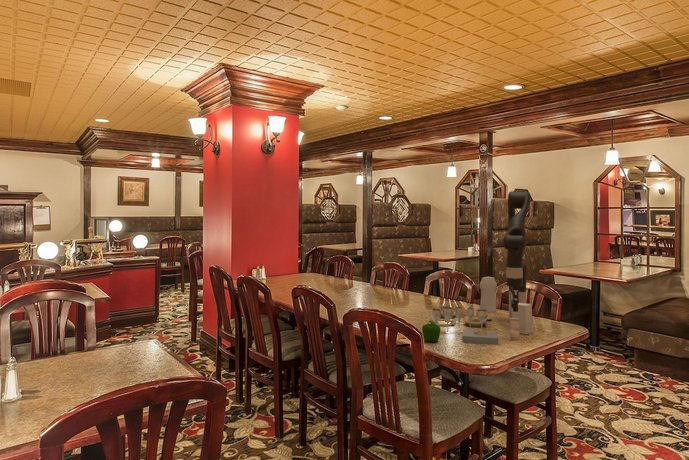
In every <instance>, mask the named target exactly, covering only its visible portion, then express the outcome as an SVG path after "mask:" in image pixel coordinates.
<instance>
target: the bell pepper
mask: <svg viewBox="0 0 689 460" xmlns="http://www.w3.org/2000/svg"><path fill="white" fill-rule="evenodd" d="M433 323H434V324H433ZM435 323H436V322H435V321H432V322H430V323H426V324H423V325H422V326H421V327H422V329H421V331H422V336H423V339H424V341H425V340H426V341H425V342H427V341H432V343H437V342H438V341H439V339H440V334H441V333H440V332H441V326H438V325H436V324H435ZM436 341H437V342H436Z"/></svg>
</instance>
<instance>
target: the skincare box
mask: <svg viewBox="0 0 689 460" xmlns="http://www.w3.org/2000/svg"><path fill="white" fill-rule="evenodd" d="M512 318H518V319H519V334H522V335H528V334H533V332H534V331H533V329H534V327H533V312H532V303H527V302H526V303H518V312H514V311H513V308H512Z"/></svg>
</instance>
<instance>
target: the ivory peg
mask: <svg viewBox="0 0 689 460" xmlns="http://www.w3.org/2000/svg"><path fill="white" fill-rule="evenodd" d="M509 339H510V341H520V333H519V319H518V318H510V321H509Z"/></svg>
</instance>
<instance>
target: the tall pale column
mask: <svg viewBox="0 0 689 460" xmlns="http://www.w3.org/2000/svg"><path fill="white" fill-rule="evenodd" d="M497 283H498V282H496V280H495V277H492V276H484V277H481V280H480V282H479V289H480V300H479V301H480V308H479V309H484V310H487V314H489V313H497V299H496V292H497V285H498V284H497Z"/></svg>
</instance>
